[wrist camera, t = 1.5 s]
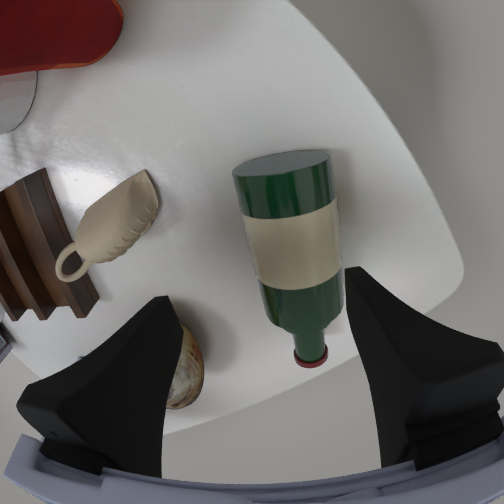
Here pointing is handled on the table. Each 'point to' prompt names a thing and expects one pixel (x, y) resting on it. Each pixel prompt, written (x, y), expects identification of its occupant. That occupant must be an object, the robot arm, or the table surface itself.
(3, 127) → the mug
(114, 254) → the decorative ornament
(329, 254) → the bottle
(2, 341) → the supplement box
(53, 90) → the table surface
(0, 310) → the decorative object set
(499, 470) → the robot arm
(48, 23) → the coffee cup
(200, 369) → the seashell
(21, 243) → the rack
